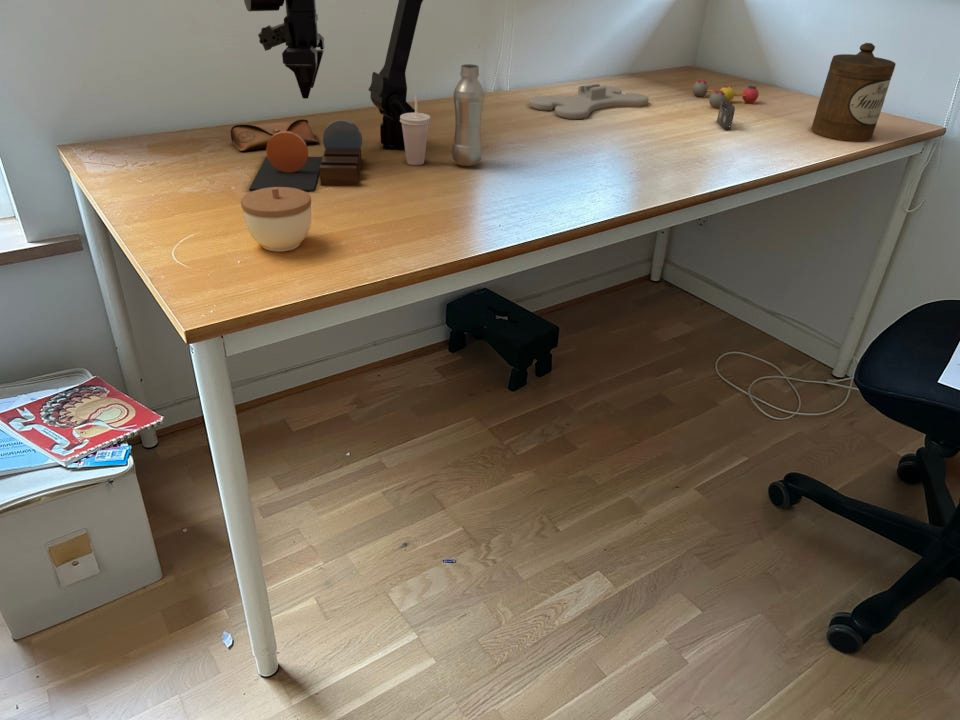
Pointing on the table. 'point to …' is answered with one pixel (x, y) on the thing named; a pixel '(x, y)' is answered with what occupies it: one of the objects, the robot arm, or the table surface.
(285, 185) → the grey mat
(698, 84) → the molecule model
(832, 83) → the wooden container
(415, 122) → the smoothie
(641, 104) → the holder
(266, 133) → the sunglasses case
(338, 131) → the blue-grey coaster
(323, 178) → the coaster rack
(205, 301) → the table surface
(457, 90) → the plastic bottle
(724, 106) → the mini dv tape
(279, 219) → the trinket box
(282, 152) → the terracotta coaster
